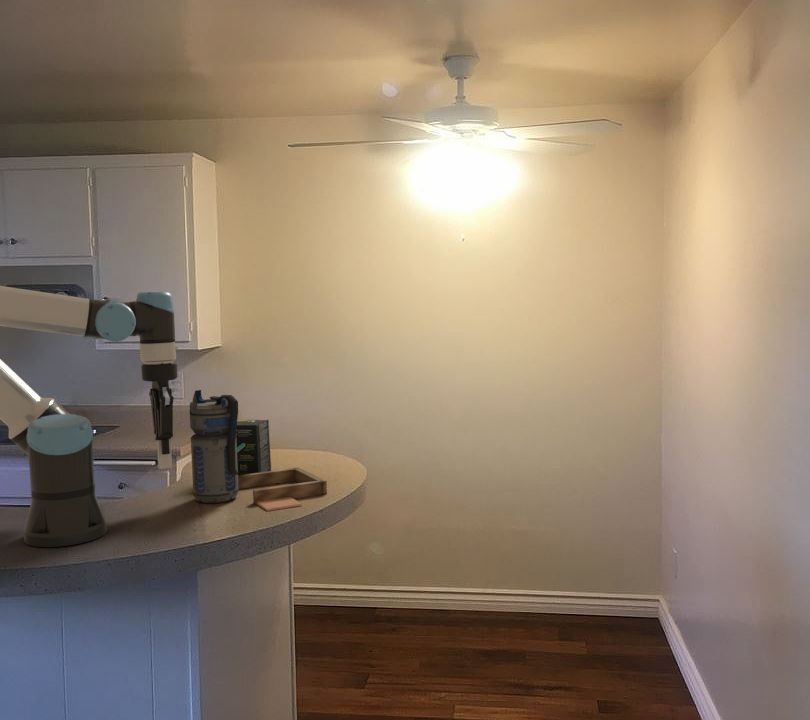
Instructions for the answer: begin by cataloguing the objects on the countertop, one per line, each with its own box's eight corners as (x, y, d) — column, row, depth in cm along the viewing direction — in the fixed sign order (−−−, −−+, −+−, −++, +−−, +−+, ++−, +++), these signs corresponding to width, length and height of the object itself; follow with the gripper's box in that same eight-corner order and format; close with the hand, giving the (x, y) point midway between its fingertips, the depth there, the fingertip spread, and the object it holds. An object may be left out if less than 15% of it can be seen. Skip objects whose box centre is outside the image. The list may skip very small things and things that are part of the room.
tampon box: (271, 474, 215) (269, 418, 214) (259, 482, 206) (257, 424, 205) (231, 474, 217) (229, 418, 216) (217, 482, 208) (215, 424, 207)
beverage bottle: (223, 508, 182) (218, 395, 180) (182, 500, 189) (176, 392, 187) (255, 498, 191) (251, 390, 188) (215, 491, 198) (210, 387, 196)
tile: (267, 511, 179) (266, 508, 179) (255, 503, 186) (255, 500, 186) (301, 505, 183) (301, 503, 183) (288, 498, 190) (288, 496, 190)
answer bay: (255, 504, 185) (255, 491, 185) (231, 488, 201) (231, 476, 200) (326, 493, 193) (326, 480, 193) (298, 479, 209) (298, 467, 209)
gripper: (183, 362, 178) (189, 470, 180) (169, 359, 189) (175, 460, 191) (147, 365, 174) (154, 475, 176) (135, 361, 186) (142, 465, 188)
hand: (165, 467), depth 184 cm, fingers closed
